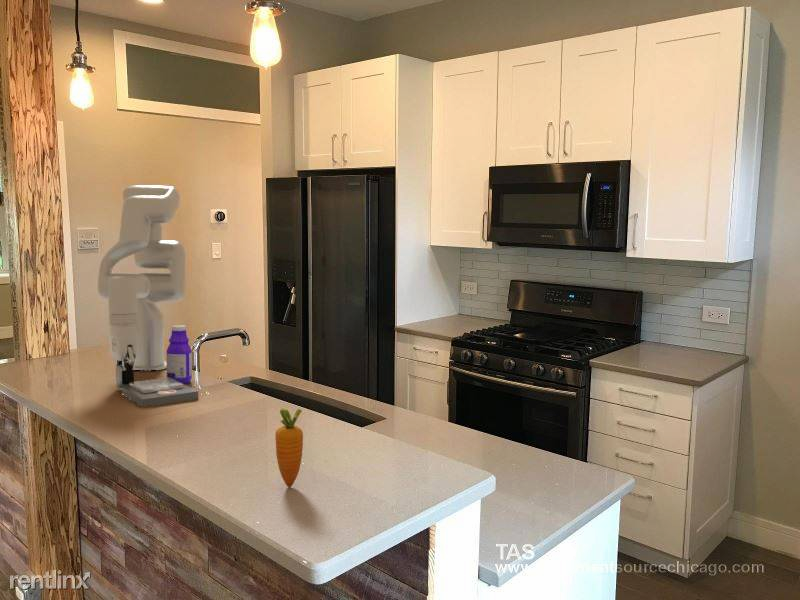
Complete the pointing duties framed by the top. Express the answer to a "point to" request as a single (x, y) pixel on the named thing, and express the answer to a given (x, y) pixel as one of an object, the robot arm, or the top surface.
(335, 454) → the top surface
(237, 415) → the top surface
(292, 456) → the carrot
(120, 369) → the cylinder
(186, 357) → the bottle
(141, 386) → the platform
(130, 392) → the scale
